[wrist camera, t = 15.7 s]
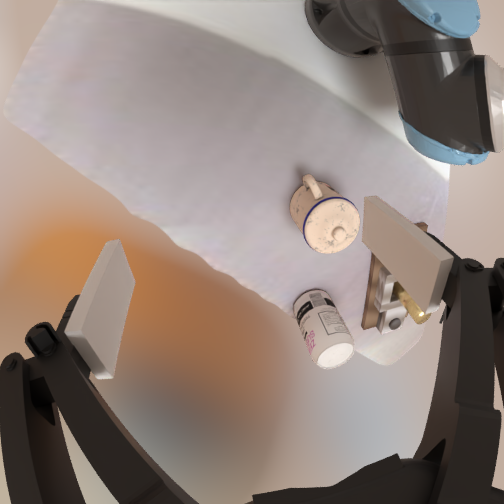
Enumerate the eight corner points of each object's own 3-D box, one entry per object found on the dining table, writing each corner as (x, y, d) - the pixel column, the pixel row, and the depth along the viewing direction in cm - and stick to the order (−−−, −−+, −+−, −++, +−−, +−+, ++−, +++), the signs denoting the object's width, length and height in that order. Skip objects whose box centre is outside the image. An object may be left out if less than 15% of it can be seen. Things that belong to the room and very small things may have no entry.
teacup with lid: (343, 214, 52) (374, 246, 42) (299, 237, 53) (321, 273, 43) (321, 155, 46) (354, 175, 36) (272, 179, 47) (291, 206, 37)
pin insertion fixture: (374, 231, 55) (388, 244, 50) (423, 222, 56) (439, 234, 51) (361, 325, 68) (370, 341, 63) (404, 312, 69) (414, 326, 64)
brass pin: (386, 282, 60) (414, 317, 50) (400, 271, 59) (430, 305, 49) (391, 292, 62) (417, 327, 52) (404, 281, 61) (432, 315, 51)
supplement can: (334, 306, 63) (361, 356, 50) (300, 323, 64) (321, 376, 51) (323, 281, 59) (352, 333, 46) (286, 300, 60) (307, 355, 47)
